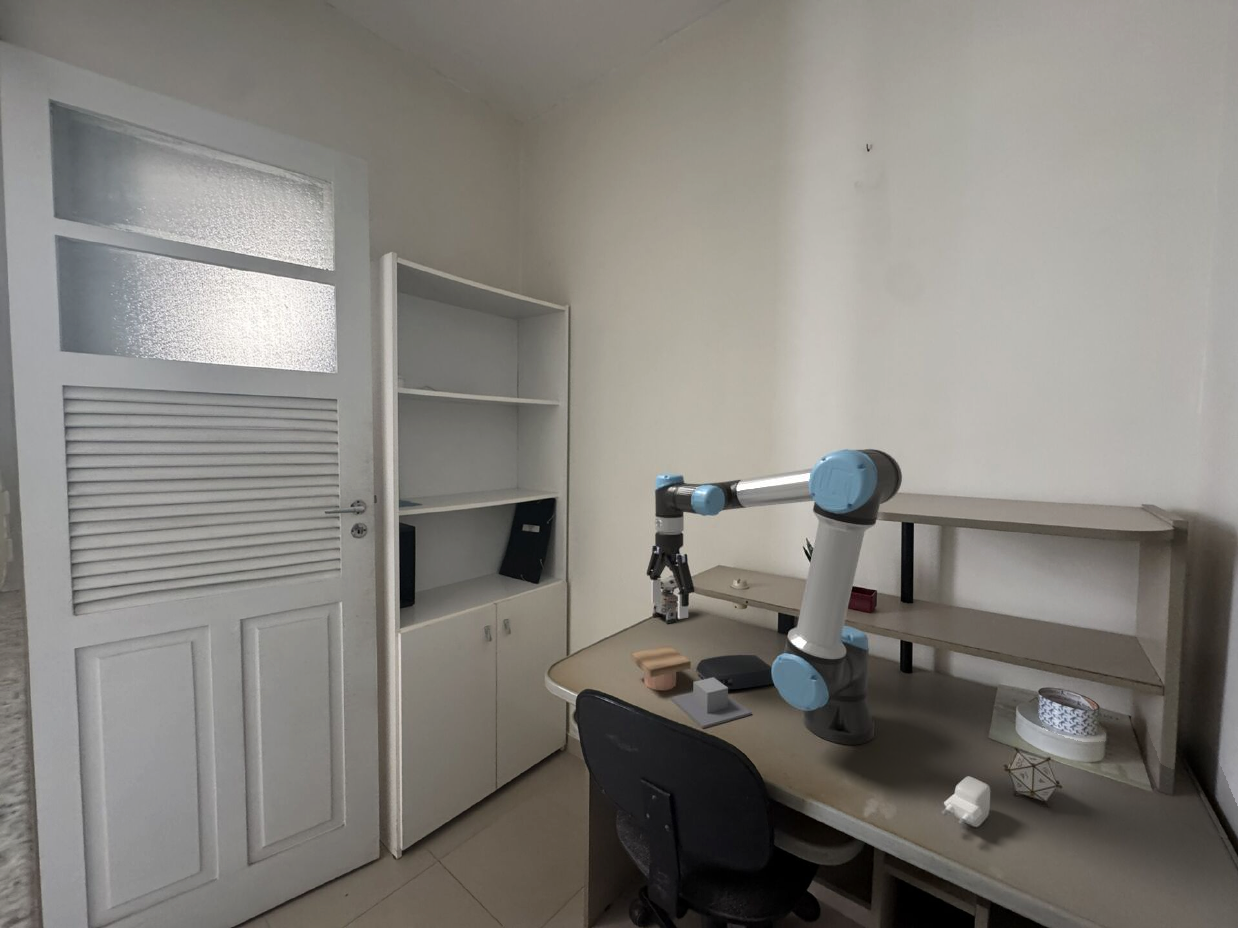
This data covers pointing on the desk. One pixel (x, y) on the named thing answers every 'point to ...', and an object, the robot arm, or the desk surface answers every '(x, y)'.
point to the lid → (660, 661)
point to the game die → (1032, 776)
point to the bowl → (660, 681)
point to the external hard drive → (736, 670)
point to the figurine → (667, 600)
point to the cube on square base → (710, 703)
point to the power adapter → (969, 802)
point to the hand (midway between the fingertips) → (668, 610)
